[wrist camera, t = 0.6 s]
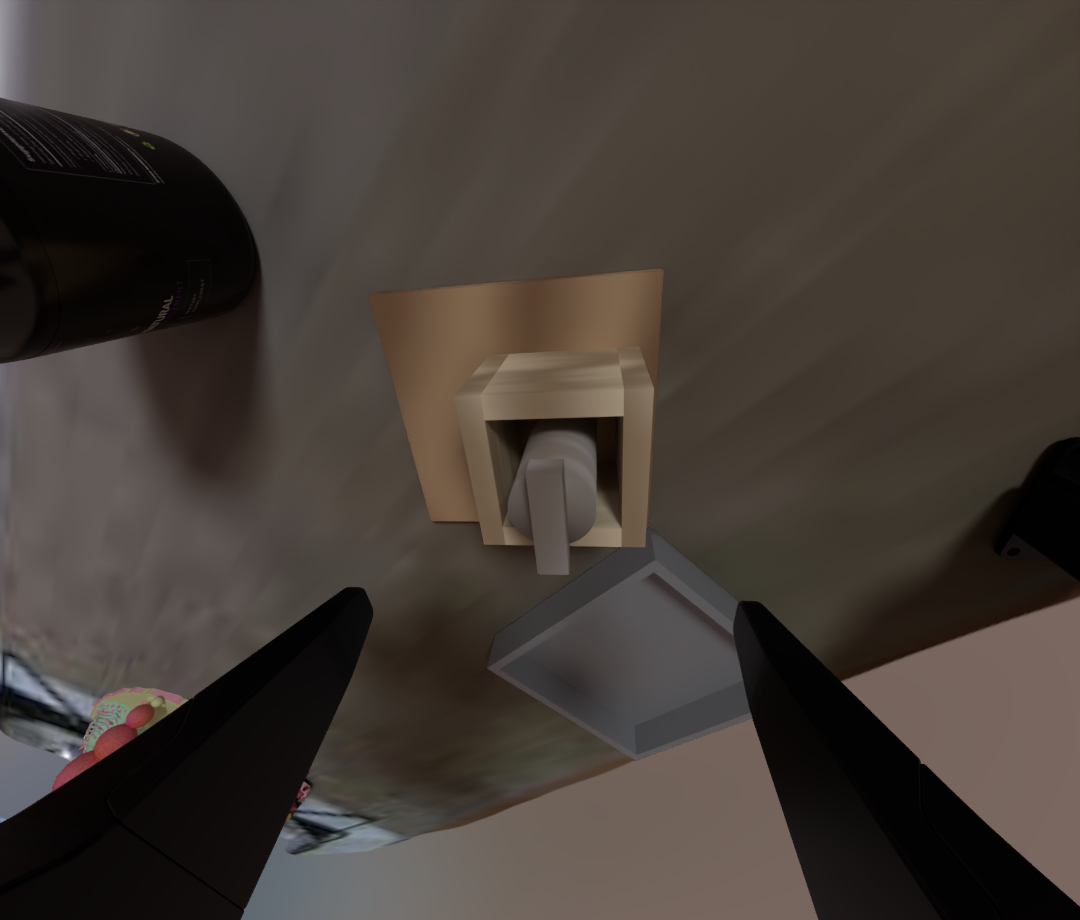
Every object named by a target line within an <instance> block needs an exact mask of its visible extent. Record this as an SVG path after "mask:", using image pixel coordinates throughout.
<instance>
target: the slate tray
mask: <svg viewBox="0 0 1080 920" xmlns="http://www.w3.org/2000/svg"><path fill="white" fill-rule="evenodd" d="M738 603H739V602H738V601H737V600H736V599H734V598H733V597H732V596H731V595H730V594H728V593H727V592H726V591H725V590H724V589H722V588H721V587H720V586H719V585H718V584H716V583H715V582H714V581H713V580H712V579H710V578H709V577H708V576H707V575H706V574H705V573H703V572H702V571H701V570H700V569H699V568H697V567H696V566H695V565H694V564H693V563H691V562H690V561H689V560H688V559H687V558H685V557H684V556H683V555H682V554H681V553H680V552H678V551H677V550H676V549H675V548H674V547H672V546H671V545H670V544H669V543H668V542H666V541H665V540H664V539H663V538H662V537H660V536H659V535H658V534H657V533H656V532H654V531H653V530H652V529H651V528H648V529H647V530H646V544H645V547H621V548H620V549H618V550H617V551H615V552H614V553H612V554H611V555H610V556H608V557H607V558H605V559H604V560H602V561H601V562H600V563H598V564H597V565H595V566H594V567H592V568H591V569H589V570H588V571H587V572H585V573H584V574H582V575H581V576H579V577H578V578H577V579H575V580H574V581H572V582H571V583H569V584H568V585H566V586H565V587H564V588H562V589H561V590H559V591H558V592H556V593H555V594H554V595H552V596H551V597H549V598H548V599H546V600H545V601H543V602H542V603H541V604H539V605H538V606H536V607H535V608H533V609H532V610H531V611H529V612H528V613H526V614H525V615H523V616H522V617H520V618H519V619H518V620H516V621H515V622H513V623H512V624H510V625H509V626H508V627H506V628H505V629H503V630H502V631H500V632H499V633H497V634H496V635H495V638H494V641H493V645H492V649H491V653H490V657H489V661H488V665H487V669H489V670H490V671H492V672H493V673H495V674H497V675H498V676H500V677H501V678H503V679H505V680H506V681H508V682H510V683H511V684H513V685H514V686H516V687H518V688H519V689H521V690H522V691H524V692H526V693H527V694H529V695H531V696H532V697H534V698H535V699H537V700H539V701H540V702H542V703H543V704H545V705H547V706H548V707H550V708H552V709H553V710H555V711H556V712H558V713H560V714H561V715H563V716H564V717H566V718H568V719H569V720H571V721H573V722H574V723H576V724H577V725H579V726H581V727H582V728H584V729H585V730H587V731H589V732H590V733H592V734H594V735H595V736H597V737H598V738H600V739H602V740H603V741H605V742H606V743H608V744H610V745H611V746H613V747H615V748H616V749H618V750H619V751H621V752H623V753H624V754H626V755H627V756H629V757H631V758H632V759H634V760H635V761H637V760H640V759H642V758H645V757H648V756H651V755H653V754H656V753H659V752H662V751H664V750H667V749H670V748H673V747H675V746H678V745H681V744H683V743H686V742H689V741H692V740H694V739H697V738H700V737H702V736H705V735H708V734H711V733H713V732H716V731H719V730H722V729H724V728H727V727H730V726H733V725H735V724H738V723H741V722H744V721H746V720H749V719H752V715H751V712H750V709H749V705H748V701H747V696H746V692H745V687H744V682H743V678H742V673H741V668H740V664H739V659H738V654H737V650H736V645H735V640H734V635H733V623H734V618H735V613H736V609H737V605H738Z"/></svg>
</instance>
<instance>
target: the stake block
mask: <svg viewBox="0 0 1080 920" xmlns="http://www.w3.org/2000/svg"><path fill="white" fill-rule="evenodd" d="M663 272H664V270H662V269H651V270H639V271H627V272H615V273H603V274H591V275H579V276H567V277H555V278H544V279H532V280H520V281H508V282H496V283H484V284H472V285H460V286H448V287H436V288H424V289H412V290H400V291H388V292H377V293H374V294H370V295H369V298H370V302H371V306H372V309H373V313H374V316H375V320H376V324H377V327H378V331H379V334H380V338H381V342H382V345H383V349H384V352H385V356H386V360H387V363H388V367H389V370H390V374H391V378H392V381H393V385H394V388H395V392H396V396H397V399H398V403H399V406H400V410H401V414H402V417H403V421H404V424H405V428H406V432H407V435H408V439H409V442H410V446H411V450H412V453H413V457H414V460H415V464H416V468H417V471H418V475H419V478H420V482H421V486H422V489H423V493H424V496H425V500H426V504H427V507H428V511H429V514H430V518H431V521H479V517H478V512H477V507H476V502H475V497H474V493H473V488H472V483H471V478H470V473H469V468H468V463H467V458H466V453H465V448H464V443H463V439H462V434H461V429H460V424H459V419H458V414H457V409H456V404H455V399H454V396H455V394H456V393H457V392H458V391H459V390H460V388H461V387H462V386H463V385H464V384H465V383H466V381H467V380H468V379H469V378H470V377H471V376H472V374H473V373H474V372H475V371H476V370H477V369H478V367H479V366H480V365H481V364H482V363H483V362H484V360H485V359H486V358H487V357H488V356H489V355H499V354H517V353H535V352H553V351H571V350H589V349H607V348H625V347H640V350H641V353H642V356H643V359H644V361H645V364H646V367H647V370H648V373H649V375H650V378H651V381H652V384H653V387H654V397H653V416H652V434H651V452H650V471H649V489H648V507H647V523H649V513H650V496H651V478H652V461H653V444H654V427H655V410H656V392H657V375H658V358H659V341H660V324H661V306H662V289H663ZM517 420H518V428H519V436H520V444H521V452H522V459H521V462H520V466H519V469H518V472H517V475H516V478H515V481H514V484H513V487H512V490H511V493H510V496H509V500H508V506H507V507H508V514H509V517H510V520H511V522H512V524H513V525H514V526H515V528H516V529H517V530H518V531H519V532H520V533H521V534H522V535H524V536H525V537H527V538H528V539H530V540H532V541H534V547H535V555H536V563H537V571H538V574H552V575H569V567H570V545H569V544H570V543H573V542H576V541H578V540H579V539H581V538H583V537H584V536H585V535H586V534H587V533H588V532H589V531H590V530H591V528H592V527H593V525H594V522H595V519H596V471H597V462H616V428H617V416H612V417H579V418H547V419H517Z"/></svg>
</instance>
